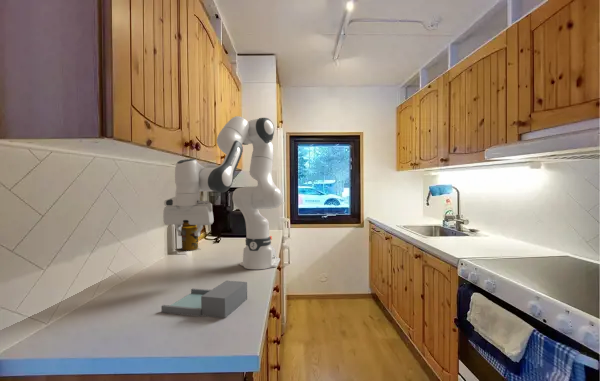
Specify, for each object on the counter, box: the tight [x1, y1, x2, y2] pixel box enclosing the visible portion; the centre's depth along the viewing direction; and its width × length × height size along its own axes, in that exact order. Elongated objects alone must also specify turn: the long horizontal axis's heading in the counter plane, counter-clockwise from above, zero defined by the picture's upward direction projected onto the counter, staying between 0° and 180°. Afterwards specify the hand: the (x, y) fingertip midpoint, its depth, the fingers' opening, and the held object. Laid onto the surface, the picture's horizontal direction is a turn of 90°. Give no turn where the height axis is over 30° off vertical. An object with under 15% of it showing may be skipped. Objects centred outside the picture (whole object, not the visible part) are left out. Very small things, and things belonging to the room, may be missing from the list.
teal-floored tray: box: [160, 280, 248, 319], centre depth 105 cm, size 17×22×6 cm
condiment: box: [174, 220, 202, 254], centre depth 122 cm, size 7×8×12 cm
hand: (189, 236), depth 122 cm, fingers closed on condiment, 6 cm apart
